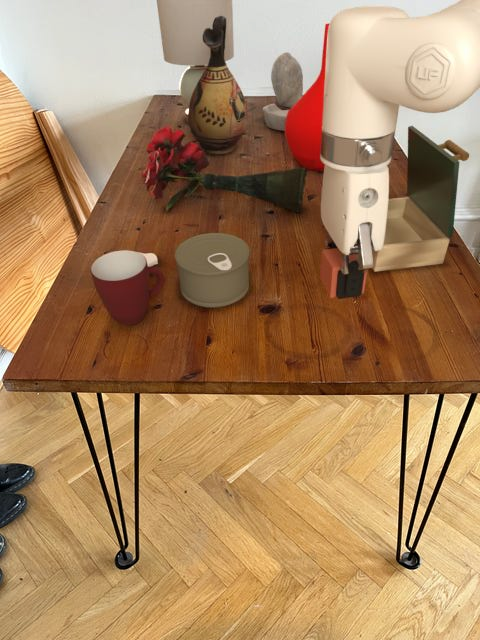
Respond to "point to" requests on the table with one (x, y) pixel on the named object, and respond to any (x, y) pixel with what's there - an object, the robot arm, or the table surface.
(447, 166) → the cover
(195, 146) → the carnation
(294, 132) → the vase
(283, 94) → the decorative stone
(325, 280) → the block
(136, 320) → the mug
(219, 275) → the can
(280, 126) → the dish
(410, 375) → the table surface
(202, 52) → the lamp
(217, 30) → the ceramic jug
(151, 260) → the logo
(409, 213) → the cream open box
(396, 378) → the table surface
